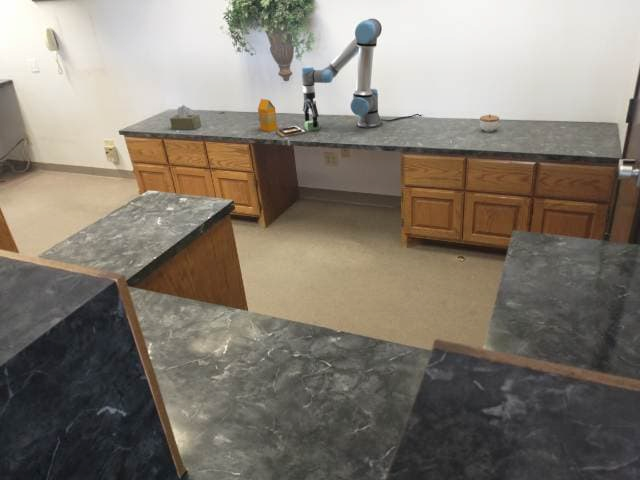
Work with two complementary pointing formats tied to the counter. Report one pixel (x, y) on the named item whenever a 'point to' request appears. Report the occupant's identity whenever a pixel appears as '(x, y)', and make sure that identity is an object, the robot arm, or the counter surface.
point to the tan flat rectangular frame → (289, 131)
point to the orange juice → (267, 116)
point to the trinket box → (489, 122)
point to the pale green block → (310, 125)
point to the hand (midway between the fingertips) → (311, 124)
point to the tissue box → (185, 120)
